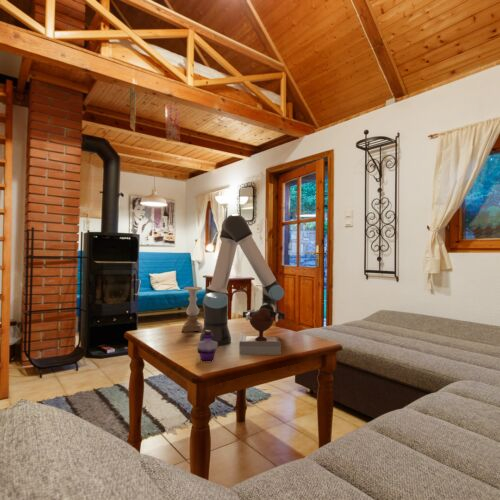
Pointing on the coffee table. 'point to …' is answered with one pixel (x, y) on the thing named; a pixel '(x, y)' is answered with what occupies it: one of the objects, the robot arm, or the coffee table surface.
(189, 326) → the candle holder
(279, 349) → the step dock
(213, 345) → the potion bottle
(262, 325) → the ice cream bowl
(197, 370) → the coffee table surface
